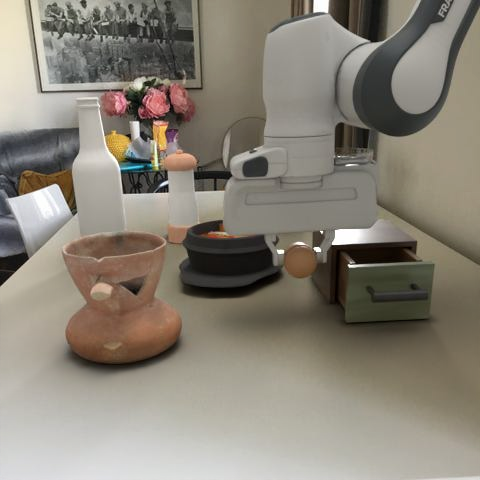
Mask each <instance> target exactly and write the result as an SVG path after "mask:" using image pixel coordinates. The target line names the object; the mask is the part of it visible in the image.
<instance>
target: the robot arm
mask: <svg viewBox="0 0 480 480" xmlns="http://www.w3.org/2000/svg"><path fill="white" fill-rule="evenodd" d="M479 9H480V0H416V1H415V4H414V6H413V8H412V10H411V12H410V14H409V16H408V18H407V20H406V21H405V23H404V24H403V25H402V26H401V27H400V28H399V29H398V30H397V31H396V32H394V33H393V34H392V35H390V36H389V37H387V38H386V39H384V40H383V41H378V42H371V40H368V39H366V38H363V37H361V36H359V35H357V34H355V33H353V32H351V31H350V30H348V29H347V28H345V27H344V26H343V25H341V24H339V22H337V21H336V20H335V19H334V18H333V16H332V15H331V14H330V13H329V12H325V11H315V12H309V13H304V14H300V15H297V16H293V17H291V18H288V19H284V20H282V21H280V22H278V23H276V24H275V25H273V27H271V28H270V30H269V31H268V33H267V35H266V38H265V42H264V48H263V49H264V50H263V58H262V59H263V60H262V100H263V101H262V102H263V103H264V108H265V115H266V118H265V119H266V120H265V125H264V129H263V144H262V145H260V146H257V147H255V148H252V149H250V150H247V151H245V152H242V153H239V154H236V155H234V156H232V158H231V159H230V161H229V170H230V173H231V175H232V176H231V177H230V178H229V179H228V180H227V181H226V184H225V187H224V193H223V201H222V202H223V203H222V220H223V229H224V230H225V232H226V233H227V234H228V235H230V236H242V235H260V234H264V239H265V242H266V243H267V245H268V247H269V248H270V250H271V251H272V256H273V265H274V266H279V265H284V258H285V253H284V249H277V248H276V246H274V244H273V242H275V241H276V235H277V234H295V233H308V232H310V233H311V232H312V233H313V231H322V235H323V236H324V237H325V238H324V240H323V242H322V244H321V246H320V248H314V253H315V255H316V258H317V263H326V261H327V251H328V250H329V248H330V246H331V245H332V243H333V241H334V240H335V235H336V230H349V229H367V228H371V227H372V226H373V225H374V224H375V222H376V221H377V220H378V215H377V213H378V200H377V199H378V198H377V190H376V188H377V186H378V184H379V181H380V180H379V179H380V167H379V164H378V163H377V161H376V160H375V159H372V158H370V157H369V155H364V154H361V155H356V156H355V155H354V156H350V155H342V156H341V155H340V156H337V155H336V156H335V140H336V139H335V138H336V137H335V136H336V126H337V125H338V124H340V123H343V124H346V125H348V126H351V127H357V128H361V129H365V130H373V131H375V132H377V133H380V134H382V135H386V136H388V137H396V138H403V137H408V136H411V135H415V134H417V133H419V132H421V131H422V130H424V129H425V128H426V127H428V126H429V125H430V124H431V123H432V122H433V121H434V120H435V119H436V118H437V117H438V115H439V114H440V113H441V111H442V109H443V108H444V106H445V103H446V101H447V98H448V96H449V93H450V89H451V85H452V79H453V75H454V70H455V66H456V62H457V59H458V56H459V52H460V50H461V48H462V45H463V43H464V42H465V41H464V40H465V39H466V37H467V34H468V33H469V30H470V28H471V26H472V24H473V21H474V20H475V18H476V16H477V13H478V12H479ZM369 162H370V163H369Z"/></svg>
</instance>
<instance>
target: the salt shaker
mask: <svg viewBox="0 0 480 480" xmlns="http://www.w3.org/2000/svg"><path fill="white" fill-rule="evenodd" d="M162 163H163V164H162V166H163V168H164V170H166V171H167V182H168V199H167V215H168V224H167V235H168V236H167V237H168V242H170V243H173V244H182V241H183V240H184V239H185V237H186V234H187V230H188V229H189V228H190V227H192V226H194V225H197V224H200V223H201V222H200V218H199V217H200V216H199V205H198V204H199V203H198V200H197V193H196V191H195V189H196V188H195V177H194V175H195V174H194V169H196V167H197V159H196V157H195V156H194V155H192V154H190V153H185V152H184V151H183V150H182V149H176V150H175V152H174V153H171V154H168V155H167V156H165V158H164V159H163V161H162Z"/></svg>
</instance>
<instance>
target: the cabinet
mask: <svg viewBox="0 0 480 480" xmlns="http://www.w3.org/2000/svg"><path fill="white" fill-rule="evenodd" d="M324 238H325V237H324V236H323V235H322V231H313V232H312V239H311V240H312V241H311V242H312V243H311V244H312V245H311V249H312V250H313V252H314V248H320V246H321V244H322V242H323V240H324ZM387 247H406V248H408V249H409V250H410V251H411V252H413V253H414V254H415V255H417V252H418V251H417V250H418V240H417V239H416V238H415V237H413V236H411V235H410V234H408V233H407V232H405V231H404V230H403V229H401V228H399V227H398V226H397V225H396V224H395V223H392V222H391V221H390V220H388V219H377V221H376V222H375V224H374V225H373V226H372V227H371V228H367V229H349V230H336V235H335V240H334V241H333V243H332V245H331V246H330V248H329V250H328V251H327V261H326V263H317V266H316V269H315V271H314V272H313V273H312V274H311V278H312V280H313V282H314V283H315V285H316V287H317V289H318V290H319V292H320V294H321V295H323V296H325V298H326V300H327V302H328V303H329V304H341V302H340V301H339V299H338V298H337V296H336V295H335V280H336V253H337V250H344V249H366V248H387Z"/></svg>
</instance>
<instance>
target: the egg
mask: <svg viewBox="0 0 480 480" xmlns="http://www.w3.org/2000/svg"><path fill="white" fill-rule="evenodd" d="M283 251H284V253H285V258H284V266H283V267H284V270H285V271H286V272H287V274H289V275H290V276H291V277H293V278H294V279H300V280H301V279H306V278H309V277H311V276H312V273H313V272H314V271H315V269H316V266H317V258H316V255H315V253H314V252H313V250H312V247H311V246H310V245H308V244H307V243H305V242H303V241H295V242H292V243H290V244H288V245H287V246H286V247H285V248H284V249H283Z"/></svg>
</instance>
